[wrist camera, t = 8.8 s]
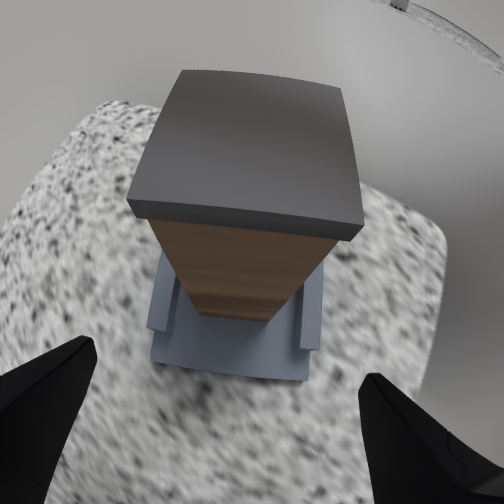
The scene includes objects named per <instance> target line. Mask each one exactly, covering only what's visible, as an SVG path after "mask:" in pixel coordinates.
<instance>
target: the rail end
mask: <svg viewBox="0 0 504 504" xmlns="http://www.w3.org/2000/svg"><path fill="white" fill-rule="evenodd" d="M126 200H127V202H128V203H129V205H130V207H131V209H132V211H133V213H134V215H135V216H136V218H141V219H147V220H148V222H149V224H150V226H151V228H152V230H153V232H154V234H155V236H156V238H157V240H158V241H159V243H160V245H161V247H162V249H163V251H164V253H165V255H166V257H167V259H168V260H169V262H170V264H171V266H172V268H173V270H174V272H175V273H176V275H177V277H178V279H179V281H180V282H181V284H182V286H183V288H184V290H185V291H186V293H187V295H188V297H189V298H190V300H191V302H192V304H193V305H194V307H195V309H196V310H197V312H198V314H199V315H204V316H212V317H220V318H229V319H238V320H248V321H259V322H269V321H270V320H271V319H272V318H273V317H274V316H275V315H276V313H277V312H278V311H279V310H280V309H281V308H282V307H283V306H284V305H285V303H286V302H287V301H288V300H289V299H290V298H291V297H292V296H293V294H294V293H295V292H296V291H297V290H298V289H299V288H300V286H301V285H302V284H303V283H304V282H305V281H306V279H307V278H308V277H309V276H310V275H311V274H312V272H313V271H314V270H315V269H316V268H317V267H318V265H319V264H320V263H321V262H322V261H323V259H324V258H325V257H326V256H327V255H328V253H329V252H330V251H331V250H332V249H333V247H334V246H335V245H336V244H337V243H338V241H339V240H341V241H349V242H350V241H351V240H352V239H353V238H354V237H355V236H356V235H357V233H358V232H359V231H360V230H361V229H362V228H363V227H364V215H363V207H362V199H361V191H360V184H359V177H358V171H357V165H356V159H355V154H354V148H353V143H352V138H351V132H350V127H349V122H348V118H347V113H346V109H345V105H344V100H343V96H342V92H341V89H340V88H337V87H333V86H329V85H324V84H319V83H314V82H309V81H304V80H298V79H292V78H285V77H279V76H271V75H264V74H255V73H244V72H232V71H213V70H182V71H181V73H180V75H179V77H178V79H177V81H176V83H175V84H174V86H173V88H172V90H171V92H170V94H169V96H168V98H167V100H166V102H165V104H164V106H163V109H162V111H161V113H160V115H159V117H158V119H157V122H156V124H155V126H154V128H153V131H152V133H151V135H150V137H149V140H148V142H147V145H146V147H145V149H144V152H143V154H142V157H141V159H140V162H139V164H138V167H137V170H136V172H135V175H134V178H133V181H132V183H131V186H130V189H129V192H128V195H127V198H126Z"/></svg>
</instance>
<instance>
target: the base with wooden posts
mask: <svg viewBox="0 0 504 504" xmlns="http://www.w3.org/2000/svg"><path fill="white" fill-rule="evenodd" d="M322 296H323V261H322V262H321V263H320V264H319V265H318V267H317V268H316V269H315V270H314V271H313V272H312V274H311V275H310V276H309V277H308V278H307V279H306V281H305V282H304V283H303V284H302V285H301V286H300V288H299V289H298V290H297V291H296V292H295V293H294V294H293V296H292V297H291V298H290V299H289V300H288V301H287V302H286V303H285V305H284V306H283V307H282V308H281V309H280V310H279V311H278V312H277V313H276V315H275V316H274V317H273V318H272V319H271V320H270V321H269V322H259V321H248V320H238V319H229V318H220V317H212V316H204V315H199V314H198V312H197V310H196V309H195V307H194V305H193V304H192V302H191V300H190V298H189V297H188V295H187V293H186V291H185V290H184V288H183V286H182V284H181V282H180V281H179V279H178V277H177V275H176V273H175V272H174V270H173V268H172V266H171V264H170V262H169V260H168V259H167V257H166V255H165V253H164V251H163V249H162V253H161V257H160V262H159V266H158V270H157V275H156V280H155V284H154V289H153V294H152V299H151V304H150V310H149V315H148V321H147V326H146V327H147V328H149V329H151V330H153V331H155V333H154V339H153V345H152V352H151V359H150V361H153V362H158V363H163V364H168V365H173V366H178V367H184V368H189V369H195V370H202V371H208V372H215V373H223V374H230V375H239V376H248V377H258V378H269V379H283V380H301V381H308V373H309V361H310V351H314V350H319V349H320V335H321V318H322Z"/></svg>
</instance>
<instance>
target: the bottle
mask: <svg viewBox="0 0 504 504" xmlns="http://www.w3.org/2000/svg"><path fill="white" fill-rule="evenodd" d="M408 4H409V0H391V5H392V6H393V7H396V6H397V9H401V11H405V10H406V9H407V7H408Z"/></svg>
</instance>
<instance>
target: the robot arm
mask: <svg viewBox="0 0 504 504" xmlns="http://www.w3.org/2000/svg"><path fill="white" fill-rule="evenodd" d="M96 364H97V353H96V349H95V345H94V341H93V339H92V338H91V337H87V336H84V335H81V336H78V337H76V338H74V339H73V340H71V341H69V342H67V343H65V344H63V345H61V346H59V347H57V348H55V349H53V350H51V351H49V352H47V353H45V354H43V355H41V356H39V357H37V358H35V359H33V360H31V361H29V362H27V363H25V364H23V365H21V366H19V367H17V368H15V369H13V370H11V371H9V372H7V373H5V374H3V376H2V375H1V376H0V504H44V501H45V498H46V495H47V491H48V489H49V486H50V483H51V480H52V477H53V474H54V471H55V469H56V466H57V463H58V461H59V458H60V455H61V453H62V450H63V448H64V445H65V443H66V440H67V438H68V435H69V433H70V431H71V428H72V426H73V423H74V421H75V419H76V417H77V414H78V412H79V410H80V408H81V405H82V403H83V401H84V398H85V396H86V393H87V390H88V387H89V384H90V381H91V378H92V375H93V372H94V369H95V366H96ZM358 400H359V409H360V419H361V430H362V436H363V441H364V446H365V452H366V457H367V462H368V467H369V473H370V479H371V485H372V491H373V497H374V503H375V504H504V468H502V467H499V466H497V465H495V464H494V463H492V462H491V461H489V460H488V459H486V458H484V457H483V456H482V455H480V454H478V453H477V452H475V451H474V450H473V449H471V448H470V447H468V446H467V445H466V444H464V443H463V442H462V441H460V440H459V439H458V438H457V437H455V436H454V435H453V434H452V433H451V432H449V431H447V429H446V428H444V427H443V426H442V425H441V424H440V423H439V422H437V421H436V420H435V419H434V418H432V417H431V416H430V415H429V414H428V413H427V412H425V411H424V410H423V409H422V408H421V407H419V406H418V405H417V404H416V403H415V402H414V401H412V400H411V399H410V398H409V397H408V396H406V395H405V394H404V393H403V392H402V391H401V390H399V389H398V388H397V387H396V386H395V385H393V384H392V383H391V382H390V381H389V380H388V379H386V378H385V377H384V376H383V375H382V374H380V373H368V374H367V375H366V377H365V379H364V381H363V383H362V385H361V387H360V388H359V391H358Z"/></svg>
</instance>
